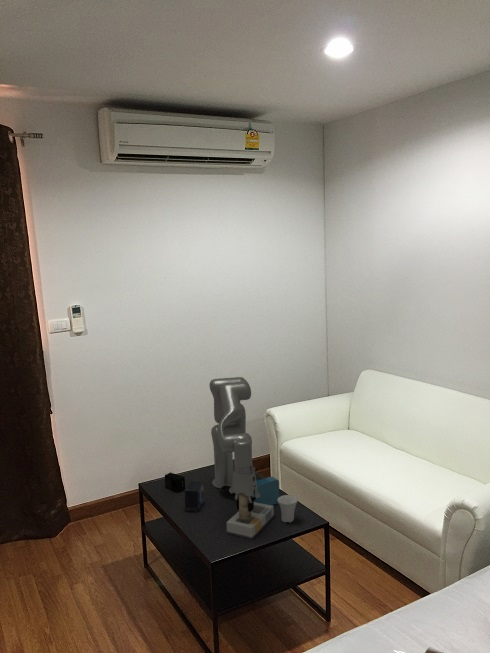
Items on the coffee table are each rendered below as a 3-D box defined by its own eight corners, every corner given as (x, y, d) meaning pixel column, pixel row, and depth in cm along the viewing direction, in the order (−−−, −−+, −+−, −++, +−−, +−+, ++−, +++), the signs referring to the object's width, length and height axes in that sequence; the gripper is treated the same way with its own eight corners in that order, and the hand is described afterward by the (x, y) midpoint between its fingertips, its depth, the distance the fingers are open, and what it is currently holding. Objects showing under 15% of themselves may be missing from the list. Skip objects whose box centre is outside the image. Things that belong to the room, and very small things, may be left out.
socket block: (250, 511, 246) (249, 500, 245) (274, 516, 240) (273, 505, 239) (226, 533, 227) (226, 521, 226) (252, 539, 221) (252, 527, 220)
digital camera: (163, 488, 273) (162, 475, 272) (171, 484, 277) (170, 472, 276) (177, 493, 267) (176, 480, 266) (185, 489, 271) (184, 476, 270)
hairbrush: (250, 505, 246) (216, 486, 265) (250, 513, 246) (216, 493, 265) (263, 500, 251) (229, 481, 270) (263, 507, 252) (229, 488, 271)
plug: (242, 512, 231) (241, 485, 230) (253, 514, 229) (252, 487, 227) (237, 517, 227) (236, 490, 225) (247, 520, 225) (246, 492, 223)
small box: (198, 512, 246) (197, 491, 245) (184, 511, 248) (183, 490, 246) (204, 502, 257) (203, 481, 255) (191, 501, 258) (190, 480, 256)
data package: (274, 499, 257) (273, 475, 255) (279, 502, 253) (279, 478, 251) (253, 506, 251) (252, 481, 249) (258, 509, 247) (257, 485, 245)
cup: (273, 518, 238) (273, 497, 237) (292, 513, 242) (291, 492, 241) (283, 527, 230) (282, 505, 229) (302, 522, 234) (301, 500, 233)
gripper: (265, 468, 225) (266, 509, 227) (230, 462, 233) (231, 501, 235) (257, 474, 218) (259, 517, 220) (221, 468, 226) (223, 509, 228)
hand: (245, 508), depth 228 cm, fingers closed on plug, 4 cm apart
